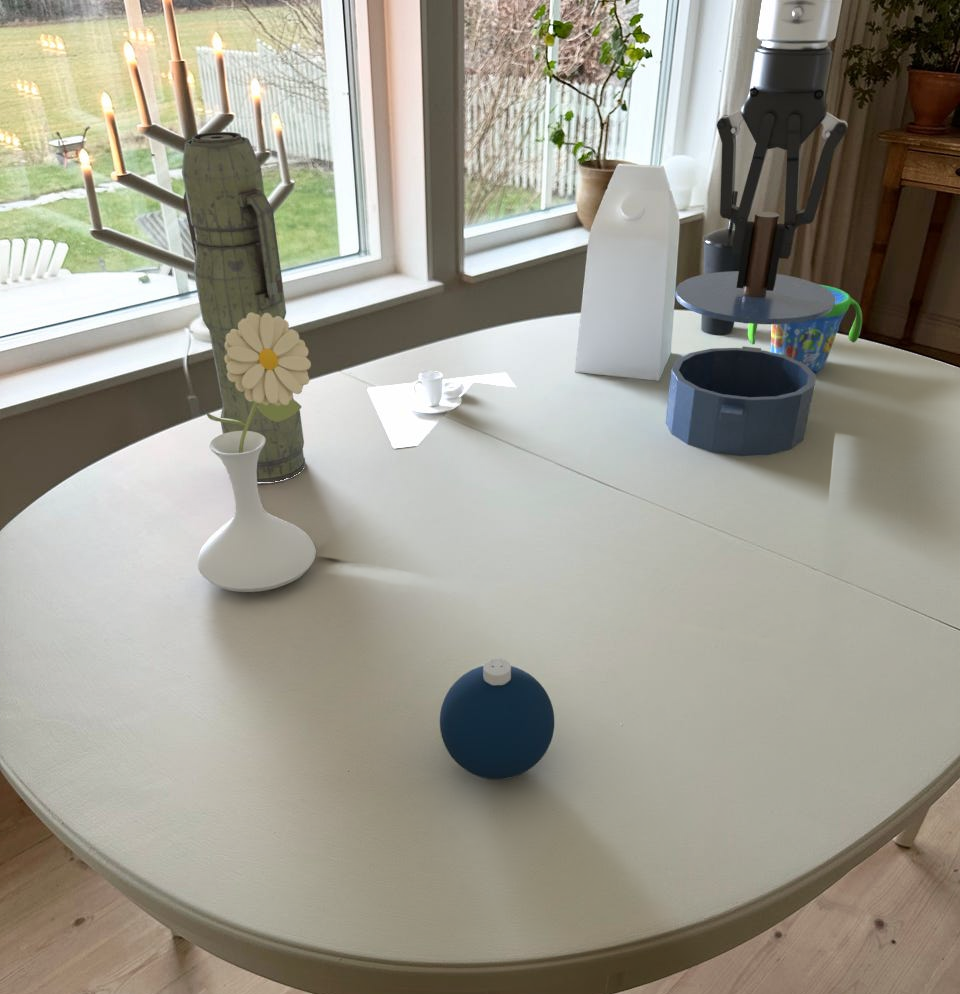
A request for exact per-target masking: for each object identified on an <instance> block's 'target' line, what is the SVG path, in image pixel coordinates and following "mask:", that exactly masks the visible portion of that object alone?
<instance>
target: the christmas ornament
mask: <svg viewBox="0 0 960 994" xmlns="http://www.w3.org/2000/svg"><path fill="white" fill-rule="evenodd" d="M439 729H440V736H441V739H442V742H443V745H444V747H445V749H446V750H447V753H448V754H449V755H450V757H451V758H452V760H454V761H455V763H457V765H458V766H460V767H461V768H462V769H464V770H465V771H467V772H469V774H472V775H475V776H477V777H480V778H484V779H488V780H506V779H512V778H515V777H518V776H520V775H522V774H524V773H526V772H528V771H529V770H531V769H533V767H534V766H536V765H537V764H538V763H539V762H540V761H541V760H542V758H543V757H544V756H545V754H546V753H547V751H548V749H549V747H550V745H551V743H552V740H553V737H554V732H555V712H554V706H553V705H552V701H551V698H550V697H549V694H548V693H547V691H546V689H545V688H544V687H543V685H542V684H541V683H540V682H539V681H538V680H537V679H536V678H535V677H534V676H533V675H531V674H530V673H529V672H527V671H525V670H523V669H521V668H518V667H516V666H513V665H511V663H510V662H509V661H507V660H506V659H503V658H491V659H488V660H487V661H486V662H484V664H483V665H482V666H478V667H475V668H473V669H471V670H469V671H467V672H465V673H464V674H463V675H461V676H460V677H459V678H458V679H456V681H454V683H453V684H452V686H450V688H449V690H447V693H446V695H445V697H444V699H443V701H442V704H441V709H440V713H439Z"/></svg>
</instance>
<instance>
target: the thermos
mask: <svg viewBox="0 0 960 994" xmlns="http://www.w3.org/2000/svg"><path fill="white" fill-rule="evenodd" d="M183 149H184V150H183V159H182V165H181V166H182V167H181V175H182V181H183V186H184V195H183V204H184V209H185V215H186V220H187V224H188V229H189V234H190V239H191V243H192V249H193V254H194V264H193V276H194V280H195V287H196V292H197V297H198V303H199V308H200V314H201V318H202V319H201V320H202V321H203V323H204V325H205V326H206V328H207V330H208V332H209V338H210V344H211V348H212V355H213V359H214V360H213V361H214V365H215V370H216V371H215V372H216V376H217V382H218V388H219V394H220V398H221V402H222V408H221V413H220V418H226V419H233V420H237V421H241V422H243V423H244V424H246V422H247V419H248V417H249V415H250V412H251V410H252V407H253V404H254V401H252V402H250V401H248V400H247V399H246V398H245V391H242V392H241V391H239V390H238V389H237V388H236V385H235V384H236V382H231V381H230V380H229V379H228V377H227V373H228V371H227V368H226V365H227V364H226V362H225V359H224V357H225V355H227V350H226V349H225V346H224V345H225V342H226V335H227V334H228V333H230V331H231V329H237V330H239V329H238V323H239V322H240V321H241V320H242V319H244V318H246V317H247V315H248V313H251V312H252V313H254V314H258V315H260V317H261V318H262V316H263V314H265V313H269V314H270V315H271V316H272V317H273V318H274V317H276V316H280V317H281V318H282V319H283V320H286V316H287V307H286V300H285V292H284V285H283V275H282V269H281V260H280V252H279V246H278V238H277V231H276V223H275V215H274V209H273V207H272V205H271V203H270V202H269V200H268V198H267V197H266V195H265V187H264V180H263V179H264V178H263V173H262V172H263V171H262V167H261V164H260V161H259V159H258V156H257V155H256V153H255V150H254V148H253V146H252V143H251V141H250V139H249V138H248V137H245V136H242V134H241V133H238V132H234V131H233V132H232V131H215V132H214V131H213V132H204V133H198V134H195V135H193V136H191V138H190V139H189V140H186V141H185V142H184V148H183ZM292 393H293V392H292ZM293 394H294V393H293ZM258 404H259V403H258ZM258 404H257V406H258ZM220 426H221V431H222V434H225V433H228V432H233V431H243V430H244V427H245V426H244V425H237V424H232V423H226V422H220ZM247 431H252V432H257V433H259V434H261V435H263V436H264V437H265V439H266V442H265V445H264V446H263V448H262V449H261V452H260V454H259V457H258V461H257V482H275V481H280V480H284V479H286V478H291V477H293V476H294V475H296V474H298V473H299V472H301V471H302V470H303V471H304V469H305V468H306V458H305V456H304V455H305V454H304V444H305V440H304V433H303V423H302V416H301V409H300V410H299V411H297V412H296V413H295V414H294V415H292V416H291V417H289V418H287V419H285V420H283V421H279V422H275V421H272V420H270V419H269V418H267V417H266V416H264V415H263V414H262V413H261V412H260V411H259V410H258V408H257V407H256V410H255V412H254V415H253V417H252V420H251V422H250V425H249V427H248V430H247ZM304 467H305V468H304ZM303 468H304V469H303ZM303 471H302V472H303ZM302 472H301V473H302ZM298 475H299V474H298ZM293 478H294V477H293ZM291 479H292V478H291Z"/></svg>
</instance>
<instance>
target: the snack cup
mask: <svg viewBox="0 0 960 994" xmlns="http://www.w3.org/2000/svg"><path fill="white" fill-rule="evenodd" d="M817 284H818V283H817ZM818 285H821V286H822V287H824V288H826V289H827V290H829V291H830V292H831V293H832V294H833V295H834V297H835V305H834V308H833V310H832V311H831V312H830V313H828V314H827V315H825V316H823V317H820V318H817V319H814V320H810V321H805V322H799V323H790V324H771V332H770V337H771V339H770V352H772V353H776V354H780V355H785V356H788V357H791V358H793V359H795V360H797V361H799V362H801V363H803V364H805V365H807V366H808V367H809V368H810V369H811V370H812V371H813V372H816V373H817V372H820V370H821V369H822V368H823V367H825V364H826V363H827V361H828V358H829V355H830V353H831V350H832V347H833V346H834V345H833V344H834V342H835V340H836V336H837V333H838V331H839V328H840V325H841V323H842V321H843V318H844V317H845V315H846V313H847V311H849V308H850V306H852V307H853V308H854V309H855V318H854V320H853V321H852V326H851V328H850V330H849V332H848V340H849V341H850V343H856V342H857V341H858V339H859V337H860V334H861V331H862V326H863V313H862V308H861V306H860V304H859V303H858V302H857V301H856V300H855V299H853V298H852V297H851V296H850V294H849V293H848V292H846V291H844V290H842V289H840V288H837V287H834V286H830V285H825V284H818ZM757 329H758V324H750V323H748V326H747V337H748V341H749V343H750V344H751V345H755V344H756V333H757Z"/></svg>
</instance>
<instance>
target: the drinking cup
mask: <svg viewBox="0 0 960 994" xmlns="http://www.w3.org/2000/svg"><path fill="white" fill-rule="evenodd" d="M738 194H739V191H738V190H734V205H735V206H737V204H738V196H739V195H738ZM728 221H729V222H728V226H727V227H728V228H727V227H726V228H719V229H716V230H714V231H711V232H709V233H706V234H705V235H703V237H702V242H703V267H702V269H703V270H702V275H703V274H709V273H717V272H731V271H739V267H740V260H741V255H733V253H732V245H733V238H734V231H735V228H734V226H735V224H734V222H733V221H731V220H729V219H728ZM734 326H735V322H732V321H726V320H721V319H716V318H712V317H708V316H705V315H702V314H701V323H700V330H701V331H702V332H703V333H706V334H710V335H716V336H720V335H723V336H724V335H728V334H732V332H733V331H734Z"/></svg>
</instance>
